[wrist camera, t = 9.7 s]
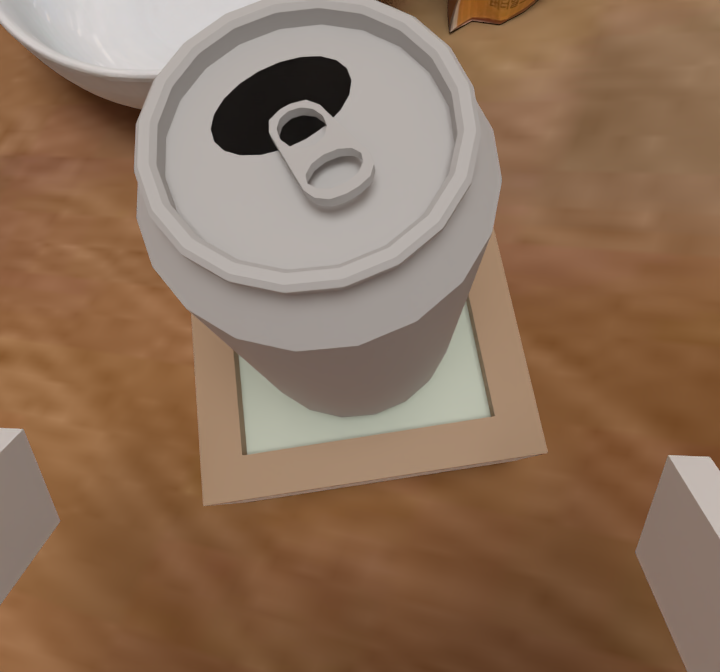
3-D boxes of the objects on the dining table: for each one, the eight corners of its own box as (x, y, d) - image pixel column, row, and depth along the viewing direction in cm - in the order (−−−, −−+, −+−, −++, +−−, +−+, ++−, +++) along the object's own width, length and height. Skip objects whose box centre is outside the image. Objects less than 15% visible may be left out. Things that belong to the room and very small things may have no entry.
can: (382, 203, 22) (370, -105, 11) (489, 352, 20) (615, 170, 9) (223, 296, 22) (27, 73, 10) (317, 460, 20) (209, 416, 8)
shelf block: (512, 461, 24) (547, 452, 18) (247, 502, 24) (203, 506, 19) (459, 221, 27) (475, 153, 22) (226, 259, 28) (183, 200, 22)
